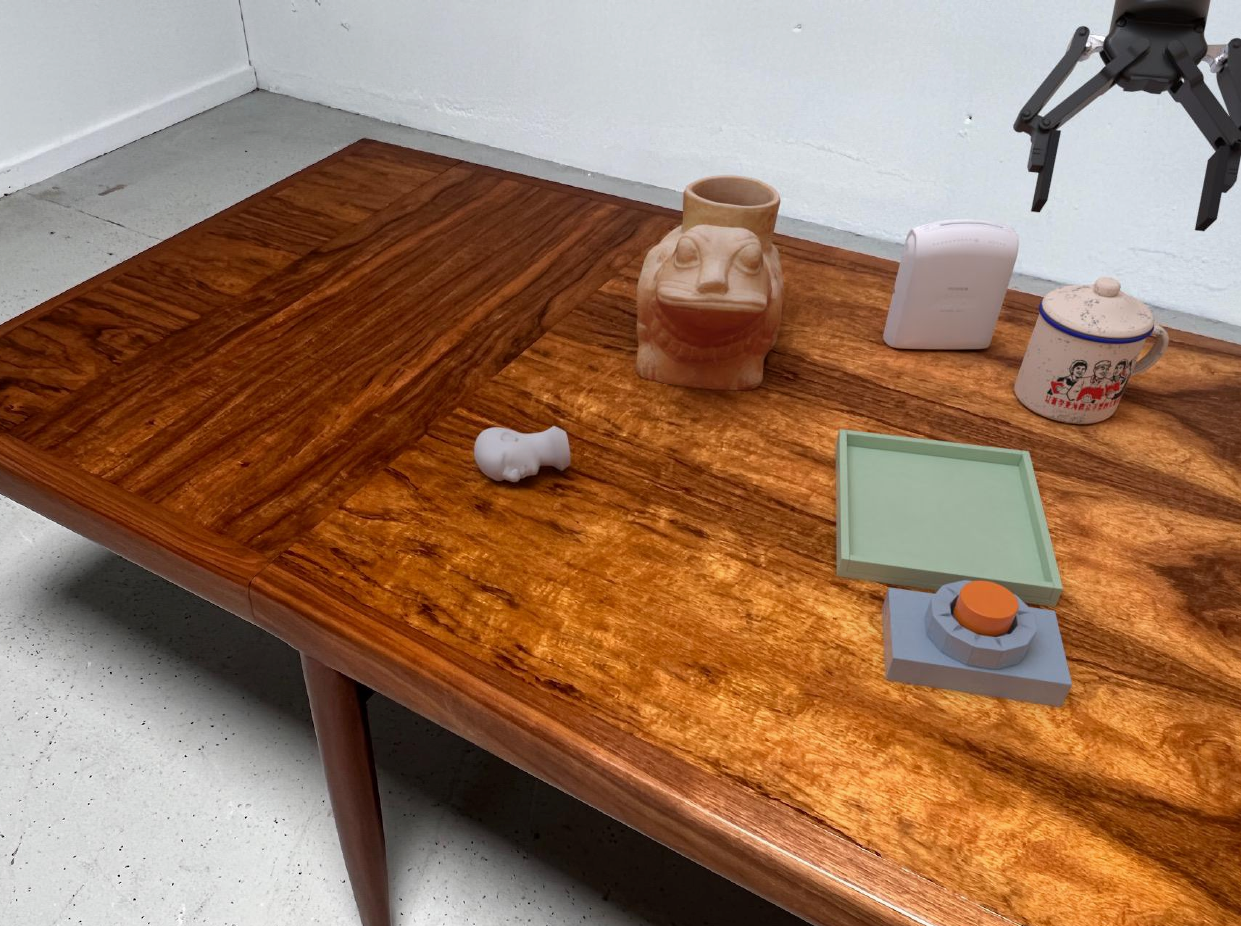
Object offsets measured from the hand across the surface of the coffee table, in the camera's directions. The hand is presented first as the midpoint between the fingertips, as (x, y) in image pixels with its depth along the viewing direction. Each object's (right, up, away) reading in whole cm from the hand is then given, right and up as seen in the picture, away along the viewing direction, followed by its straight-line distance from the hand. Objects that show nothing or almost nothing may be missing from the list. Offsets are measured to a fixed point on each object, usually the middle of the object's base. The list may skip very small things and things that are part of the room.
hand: (1120, 215), depth 95 cm
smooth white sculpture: (-53, -23, -6) cm, 58 cm away
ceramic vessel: (-35, -9, +10) cm, 38 cm away
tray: (-21, -27, -11) cm, 36 cm away
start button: (-23, -34, -24) cm, 48 cm away
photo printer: (-12, -9, +10) cm, 19 cm away
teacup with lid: (-2, -16, +2) cm, 16 cm away
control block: (-23, -37, -22) cm, 49 cm away
